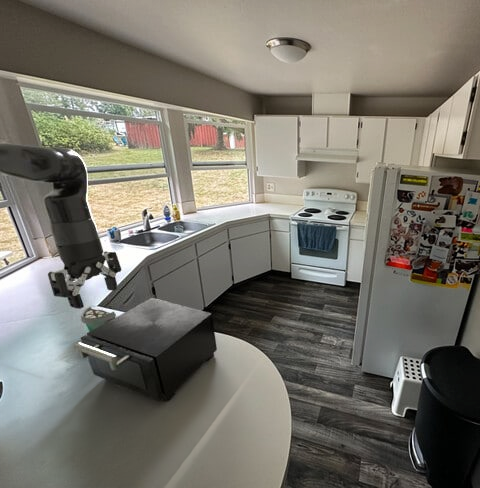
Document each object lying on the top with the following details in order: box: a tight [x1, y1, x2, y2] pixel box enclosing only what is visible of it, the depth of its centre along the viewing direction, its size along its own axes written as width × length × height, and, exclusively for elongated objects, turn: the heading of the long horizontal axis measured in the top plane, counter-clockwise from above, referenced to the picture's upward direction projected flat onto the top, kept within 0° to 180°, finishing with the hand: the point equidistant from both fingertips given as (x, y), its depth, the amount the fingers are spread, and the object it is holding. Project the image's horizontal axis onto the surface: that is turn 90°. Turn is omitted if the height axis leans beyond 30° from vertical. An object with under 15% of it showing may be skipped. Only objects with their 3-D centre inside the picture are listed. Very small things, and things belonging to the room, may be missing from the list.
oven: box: [86, 297, 218, 402], centre depth 79 cm, size 20×26×17 cm
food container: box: [80, 306, 117, 332], centre depth 92 cm, size 12×6×10 cm, turn 76°
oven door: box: [74, 334, 164, 402], centre depth 66 cm, size 6×26×16 cm, turn 72°
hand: (96, 298), depth 64 cm, fingers open, 8 cm apart
